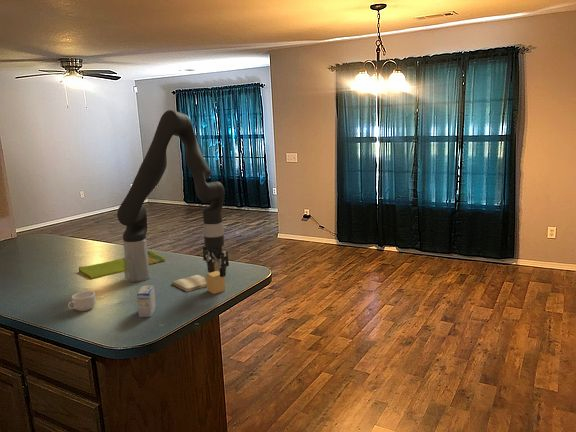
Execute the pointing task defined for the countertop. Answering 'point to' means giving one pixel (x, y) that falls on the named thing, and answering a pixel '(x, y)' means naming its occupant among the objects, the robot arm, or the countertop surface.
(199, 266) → the countertop surface
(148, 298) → the medicine box
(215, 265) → the tin
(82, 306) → the teacup
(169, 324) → the countertop surface
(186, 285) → the birch board
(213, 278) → the ochre block
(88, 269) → the dish towel
